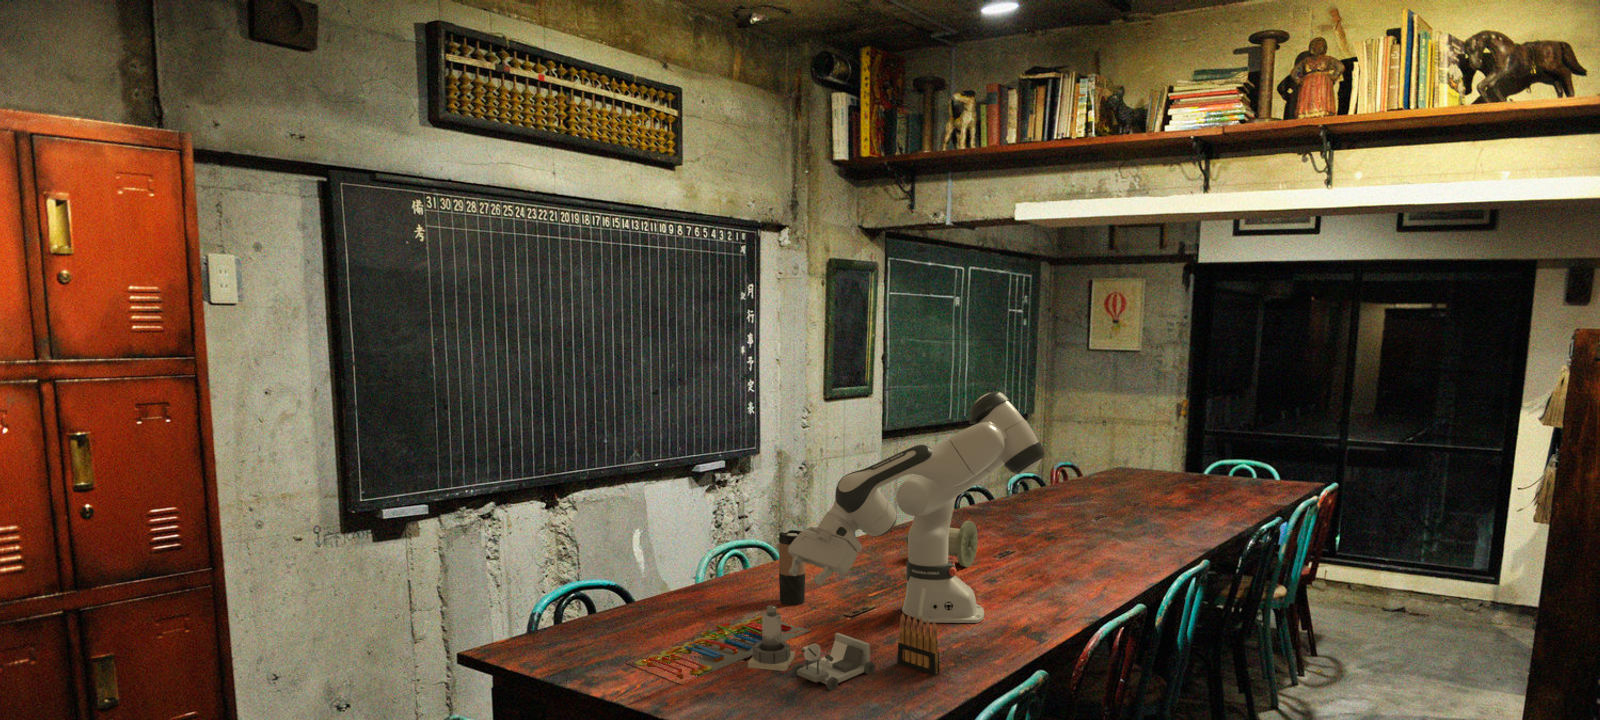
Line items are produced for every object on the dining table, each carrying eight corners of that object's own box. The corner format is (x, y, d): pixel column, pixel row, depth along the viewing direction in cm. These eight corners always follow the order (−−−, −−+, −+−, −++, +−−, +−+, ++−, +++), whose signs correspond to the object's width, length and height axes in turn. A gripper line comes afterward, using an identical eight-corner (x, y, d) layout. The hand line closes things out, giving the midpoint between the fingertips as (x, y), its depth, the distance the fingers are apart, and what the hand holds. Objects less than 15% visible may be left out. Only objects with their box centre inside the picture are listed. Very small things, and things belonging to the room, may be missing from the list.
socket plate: (794, 656, 202) (794, 641, 202) (785, 671, 193) (785, 655, 193) (758, 653, 204) (758, 638, 204) (747, 667, 195) (747, 651, 195)
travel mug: (802, 606, 239) (802, 536, 239) (776, 605, 241) (776, 535, 240) (807, 598, 247) (807, 530, 246) (782, 596, 248) (782, 529, 248)
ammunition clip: (896, 663, 198) (897, 613, 198) (901, 661, 199) (901, 611, 199) (935, 676, 191) (935, 623, 190) (939, 673, 192) (940, 621, 192)
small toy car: (820, 652, 180) (783, 638, 188) (820, 697, 180) (783, 681, 189) (875, 631, 193) (838, 619, 201) (875, 673, 193) (838, 659, 201)
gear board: (756, 607, 232) (810, 623, 220) (756, 616, 233) (810, 633, 220) (626, 654, 198) (681, 676, 186) (626, 665, 198) (681, 687, 186)
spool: (977, 561, 288) (977, 517, 288) (961, 571, 275) (961, 526, 275) (932, 554, 297) (932, 512, 297) (914, 564, 284) (914, 520, 284)
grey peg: (781, 653, 201) (782, 603, 200) (779, 660, 196) (779, 609, 196) (763, 653, 201) (763, 603, 201) (761, 660, 197) (761, 609, 196)
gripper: (801, 518, 220) (771, 562, 214) (854, 533, 204) (823, 581, 199) (814, 533, 223) (784, 576, 217) (867, 548, 207) (837, 596, 202)
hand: (803, 578), depth 208 cm, fingers open, 8 cm apart
